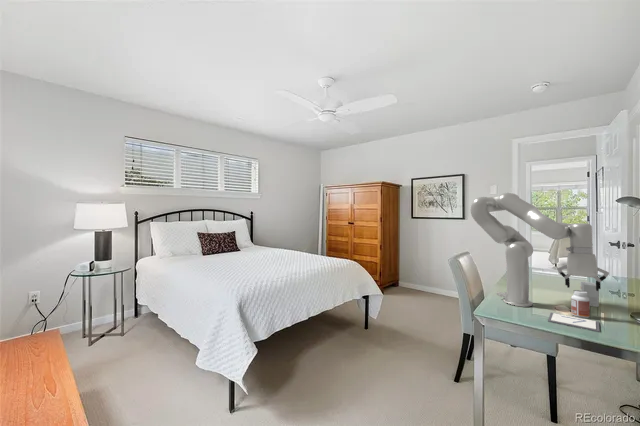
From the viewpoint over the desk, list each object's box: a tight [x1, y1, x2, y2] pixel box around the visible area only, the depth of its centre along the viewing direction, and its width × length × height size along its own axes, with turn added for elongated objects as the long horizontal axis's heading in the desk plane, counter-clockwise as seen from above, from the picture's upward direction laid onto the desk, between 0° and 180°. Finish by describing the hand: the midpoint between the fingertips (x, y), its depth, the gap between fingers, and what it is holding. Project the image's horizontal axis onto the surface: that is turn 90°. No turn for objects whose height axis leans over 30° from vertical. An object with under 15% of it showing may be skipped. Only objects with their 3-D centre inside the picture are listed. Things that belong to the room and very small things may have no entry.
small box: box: [579, 281, 600, 308], centre depth 147 cm, size 8×6×10 cm
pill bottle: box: [570, 289, 591, 319], centre depth 131 cm, size 6×6×11 cm
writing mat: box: [547, 312, 601, 333], centre depth 124 cm, size 16×13×1 cm
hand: (582, 288), depth 131 cm, fingers open, 9 cm apart
